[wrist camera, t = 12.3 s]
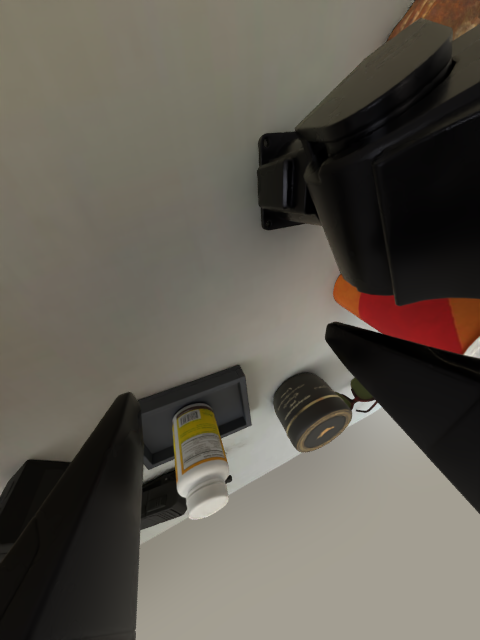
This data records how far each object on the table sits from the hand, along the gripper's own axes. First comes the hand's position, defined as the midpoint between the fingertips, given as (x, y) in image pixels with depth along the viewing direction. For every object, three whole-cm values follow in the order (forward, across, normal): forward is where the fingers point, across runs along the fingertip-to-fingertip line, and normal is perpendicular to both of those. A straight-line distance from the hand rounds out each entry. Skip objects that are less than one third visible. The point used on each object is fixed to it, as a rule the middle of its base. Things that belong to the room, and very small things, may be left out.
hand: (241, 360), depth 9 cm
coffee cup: (+12, -19, +6) cm, 24 cm away
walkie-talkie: (+12, +13, +33) cm, 38 cm away
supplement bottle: (+12, +5, +19) cm, 23 cm away
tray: (+12, +5, +19) cm, 23 cm away
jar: (+12, -12, +24) cm, 29 cm away
